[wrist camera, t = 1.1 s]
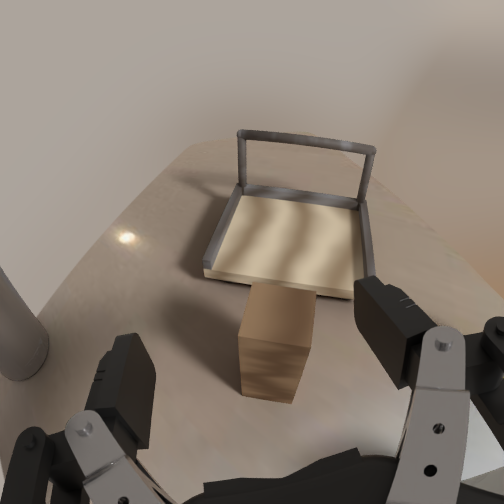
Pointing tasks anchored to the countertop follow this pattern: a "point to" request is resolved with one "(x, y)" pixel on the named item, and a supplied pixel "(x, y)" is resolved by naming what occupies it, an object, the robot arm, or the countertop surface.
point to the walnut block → (275, 341)
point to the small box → (489, 481)
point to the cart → (293, 229)
